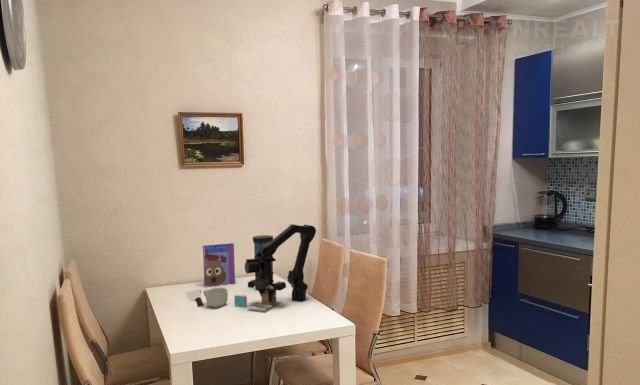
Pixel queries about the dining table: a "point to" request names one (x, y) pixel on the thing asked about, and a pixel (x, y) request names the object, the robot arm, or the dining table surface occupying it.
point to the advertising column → (257, 243)
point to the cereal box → (218, 264)
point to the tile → (240, 301)
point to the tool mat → (268, 309)
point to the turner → (264, 302)
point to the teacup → (216, 297)
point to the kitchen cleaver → (195, 297)
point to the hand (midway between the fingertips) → (267, 301)
